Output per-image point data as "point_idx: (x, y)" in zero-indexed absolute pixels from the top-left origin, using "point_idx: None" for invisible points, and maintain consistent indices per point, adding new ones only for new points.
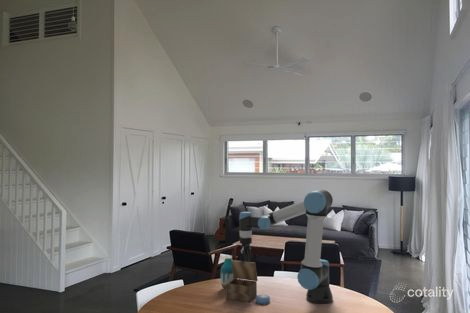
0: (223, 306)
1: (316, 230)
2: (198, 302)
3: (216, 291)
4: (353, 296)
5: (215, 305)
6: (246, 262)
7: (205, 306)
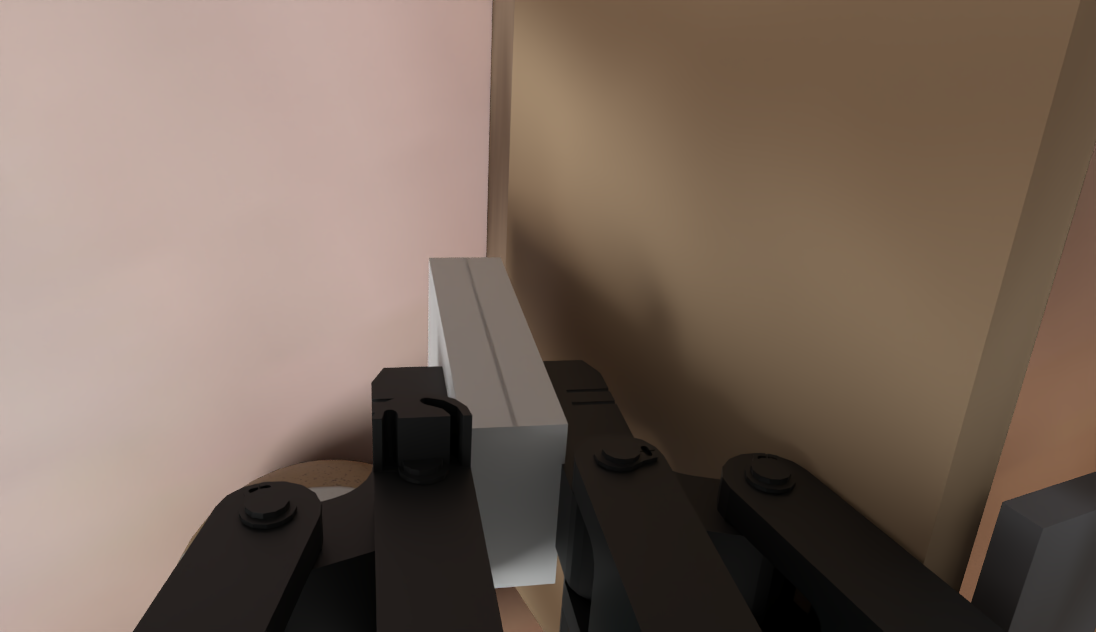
0: (1062, 259)
1: None
2: (968, 590)
3: (514, 625)
4: None
5: (1039, 371)
6: (998, 439)
7: (1083, 458)
